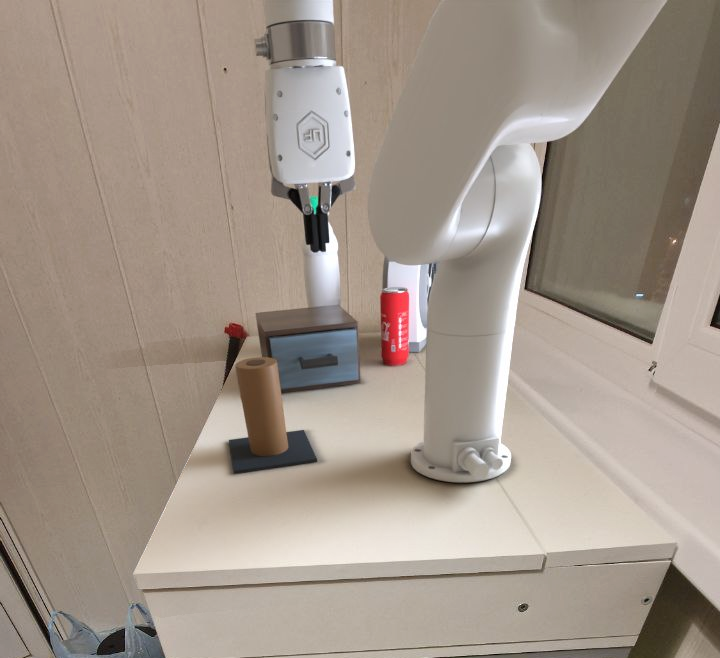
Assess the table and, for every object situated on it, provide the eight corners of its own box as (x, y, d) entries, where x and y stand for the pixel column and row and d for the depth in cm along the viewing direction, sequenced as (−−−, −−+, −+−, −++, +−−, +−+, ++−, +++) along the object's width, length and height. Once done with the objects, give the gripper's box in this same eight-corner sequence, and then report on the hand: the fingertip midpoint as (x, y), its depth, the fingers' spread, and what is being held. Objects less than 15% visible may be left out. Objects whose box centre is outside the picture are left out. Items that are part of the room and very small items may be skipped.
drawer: (364, 386, 93) (362, 335, 88) (279, 397, 91) (272, 345, 86) (341, 358, 107) (338, 312, 102) (267, 367, 105) (260, 320, 100)
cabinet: (360, 382, 98) (357, 321, 92) (273, 393, 96) (264, 331, 89) (342, 360, 109) (338, 304, 103) (263, 369, 107) (255, 312, 101)
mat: (317, 461, 73) (317, 458, 73) (234, 473, 72) (233, 470, 71) (304, 432, 81) (303, 429, 81) (229, 442, 80) (228, 439, 80)
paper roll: (290, 453, 75) (279, 365, 68) (252, 458, 74) (236, 370, 67) (285, 439, 79) (274, 354, 71) (249, 444, 78) (233, 359, 71)
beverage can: (406, 366, 104) (407, 292, 96) (379, 366, 105) (377, 292, 97) (410, 358, 108) (411, 286, 100) (384, 358, 109) (382, 287, 101)
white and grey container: (422, 357, 108) (426, 229, 95) (381, 355, 110) (378, 230, 97) (441, 334, 121) (446, 218, 108) (403, 333, 123) (404, 220, 110)
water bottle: (306, 345, 119) (291, 197, 103) (336, 340, 121) (326, 194, 105) (318, 353, 114) (304, 198, 98) (349, 347, 116) (341, 195, 100)
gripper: (237, 49, 58) (265, 259, 70) (375, 44, 60) (379, 249, 72) (233, 59, 64) (259, 253, 76) (359, 55, 66) (365, 243, 78)
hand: (318, 250), depth 74 cm, fingers closed
